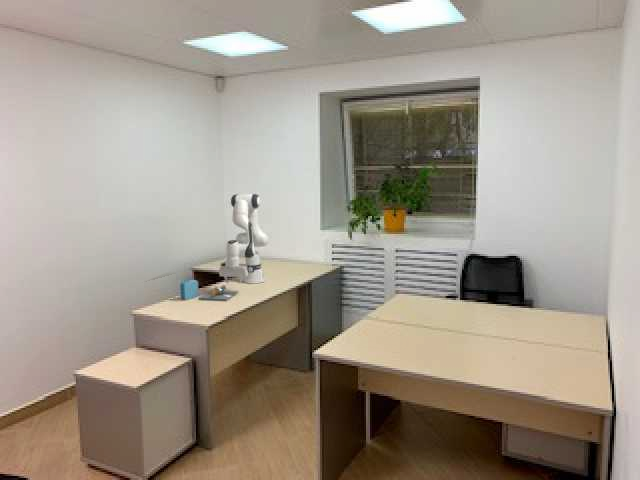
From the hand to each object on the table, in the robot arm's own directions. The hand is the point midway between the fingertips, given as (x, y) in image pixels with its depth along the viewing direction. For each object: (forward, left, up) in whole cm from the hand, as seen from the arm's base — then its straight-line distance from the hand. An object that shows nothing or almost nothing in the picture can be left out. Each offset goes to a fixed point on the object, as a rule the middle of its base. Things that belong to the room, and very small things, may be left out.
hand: (233, 283), depth 341 cm
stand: (+5, -10, -9) cm, 14 cm away
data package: (+13, -28, -9) cm, 32 cm away
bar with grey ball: (+5, -10, -7) cm, 13 cm away
